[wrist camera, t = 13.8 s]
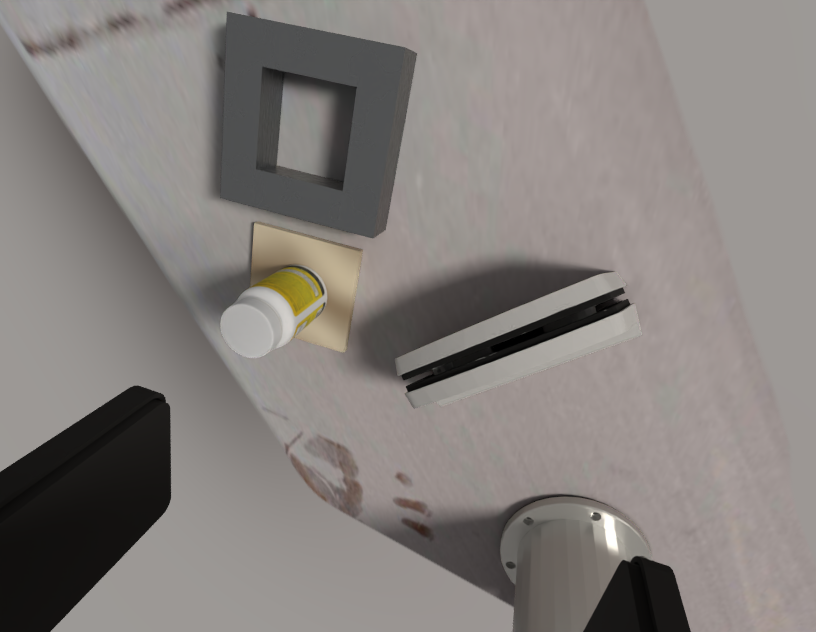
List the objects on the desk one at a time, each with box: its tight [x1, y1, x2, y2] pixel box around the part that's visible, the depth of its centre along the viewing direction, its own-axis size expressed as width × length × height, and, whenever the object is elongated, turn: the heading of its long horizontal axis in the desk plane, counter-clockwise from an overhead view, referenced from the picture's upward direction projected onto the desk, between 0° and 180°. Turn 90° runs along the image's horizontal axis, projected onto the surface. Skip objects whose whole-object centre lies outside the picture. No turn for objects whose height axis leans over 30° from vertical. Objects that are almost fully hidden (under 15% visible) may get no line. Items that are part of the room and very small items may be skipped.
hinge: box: [395, 272, 642, 408], centre depth 34 cm, size 17×5×10 cm, turn 121°
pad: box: [250, 222, 363, 353], centre depth 41 cm, size 9×9×1 cm
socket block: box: [220, 12, 417, 238], centre depth 34 cm, size 12×12×3 cm
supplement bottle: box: [220, 265, 327, 358], centre depth 37 cm, size 5×5×8 cm
